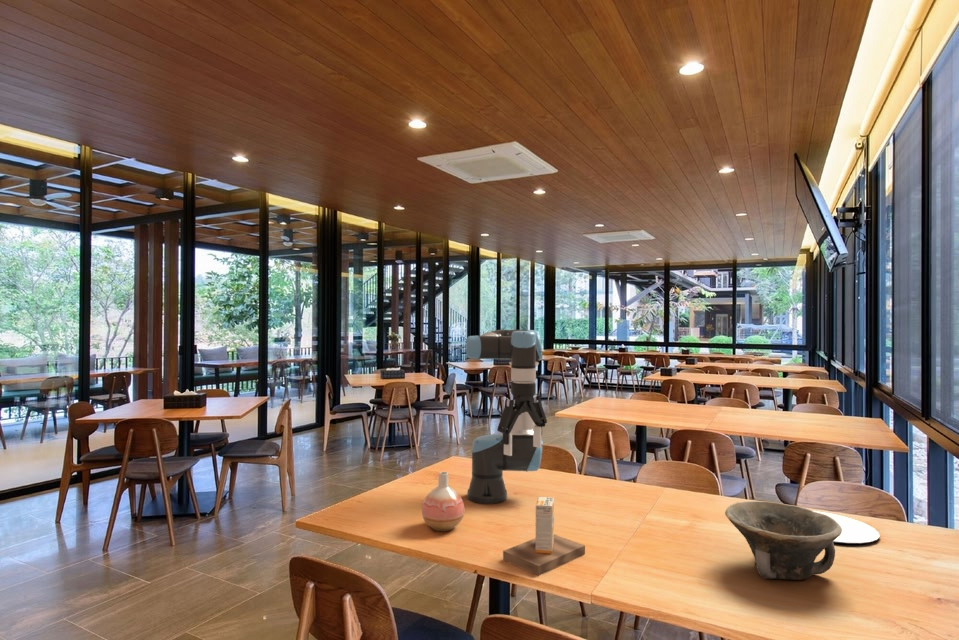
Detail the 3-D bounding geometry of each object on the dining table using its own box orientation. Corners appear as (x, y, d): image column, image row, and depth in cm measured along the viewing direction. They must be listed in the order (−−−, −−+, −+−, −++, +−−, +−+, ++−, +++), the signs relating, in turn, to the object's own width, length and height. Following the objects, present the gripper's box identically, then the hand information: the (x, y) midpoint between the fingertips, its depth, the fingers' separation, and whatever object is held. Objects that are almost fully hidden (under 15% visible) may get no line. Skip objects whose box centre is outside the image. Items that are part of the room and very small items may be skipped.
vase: (431, 539, 165) (431, 480, 165) (415, 524, 177) (415, 470, 177) (471, 531, 171) (472, 475, 171) (453, 518, 183) (453, 465, 183)
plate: (867, 522, 182) (867, 517, 182) (891, 554, 156) (891, 548, 156) (769, 509, 194) (769, 505, 194) (776, 538, 168) (776, 532, 168)
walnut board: (549, 541, 164) (549, 532, 164) (585, 554, 154) (585, 545, 154) (503, 559, 150) (503, 550, 150) (538, 575, 140) (538, 566, 140)
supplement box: (552, 554, 148) (552, 506, 148) (535, 553, 149) (535, 505, 149) (554, 542, 156) (554, 497, 156) (537, 541, 157) (537, 496, 157)
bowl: (793, 606, 125) (793, 541, 126) (704, 561, 150) (704, 507, 150) (866, 585, 136) (866, 525, 136) (772, 546, 160) (772, 495, 161)
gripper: (539, 377, 177) (539, 441, 177) (485, 384, 159) (485, 456, 160) (558, 379, 171) (557, 446, 171) (504, 386, 154) (503, 461, 154)
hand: (523, 451), depth 165 cm, fingers open, 13 cm apart
